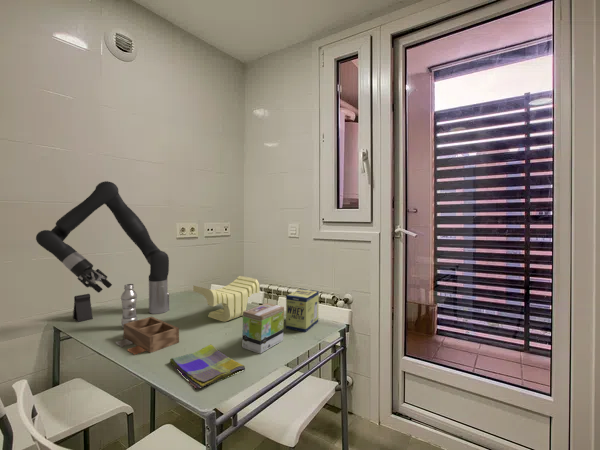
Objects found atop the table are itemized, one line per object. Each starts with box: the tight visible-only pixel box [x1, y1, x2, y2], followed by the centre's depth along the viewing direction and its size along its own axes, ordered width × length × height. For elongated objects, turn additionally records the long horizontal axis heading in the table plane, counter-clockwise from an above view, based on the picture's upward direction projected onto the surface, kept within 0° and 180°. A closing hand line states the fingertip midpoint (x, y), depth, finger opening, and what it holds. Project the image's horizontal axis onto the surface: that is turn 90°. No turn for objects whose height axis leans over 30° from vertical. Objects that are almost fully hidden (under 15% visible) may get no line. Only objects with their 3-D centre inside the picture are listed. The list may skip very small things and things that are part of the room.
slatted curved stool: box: [192, 275, 260, 323], centre depth 154 cm, size 30×16×18 cm, turn 144°
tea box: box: [241, 302, 285, 354], centre depth 121 cm, size 15×10×15 cm, turn 148°
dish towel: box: [169, 344, 246, 389], centre depth 103 cm, size 18×24×3 cm
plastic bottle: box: [120, 283, 138, 329], centre depth 138 cm, size 6×7×20 cm
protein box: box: [285, 288, 320, 333], centre depth 142 cm, size 10×16×16 cm
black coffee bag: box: [72, 293, 93, 323], centre depth 149 cm, size 9×6×12 cm, turn 51°
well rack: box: [115, 316, 180, 356], centre depth 122 cm, size 16×23×6 cm
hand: (105, 288), depth 136 cm, fingers open, 8 cm apart
